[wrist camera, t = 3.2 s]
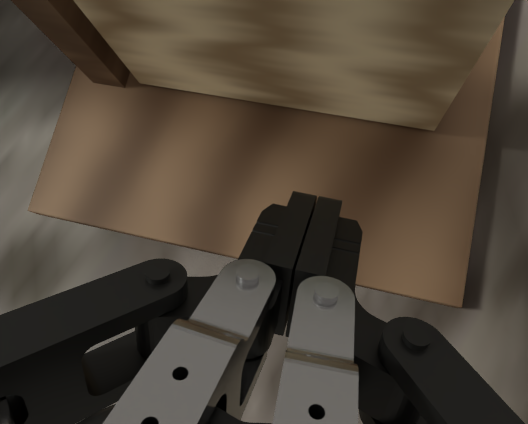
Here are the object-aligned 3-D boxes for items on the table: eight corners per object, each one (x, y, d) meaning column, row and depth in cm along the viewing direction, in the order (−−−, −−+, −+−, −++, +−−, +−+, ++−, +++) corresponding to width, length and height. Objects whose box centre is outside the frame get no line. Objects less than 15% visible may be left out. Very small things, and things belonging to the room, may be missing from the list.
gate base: (38, 214, 26) (-383, 69, 10) (127, -54, 29) (-94, -466, 14) (455, 307, 22) (768, 296, 7) (503, -14, 25) (788, -525, 10)
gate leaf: (133, 86, 25) (-32, -111, 14) (143, 54, 26) (-9, -165, 14) (439, 136, 23) (568, -57, 11) (446, 99, 23) (576, -127, 11)
